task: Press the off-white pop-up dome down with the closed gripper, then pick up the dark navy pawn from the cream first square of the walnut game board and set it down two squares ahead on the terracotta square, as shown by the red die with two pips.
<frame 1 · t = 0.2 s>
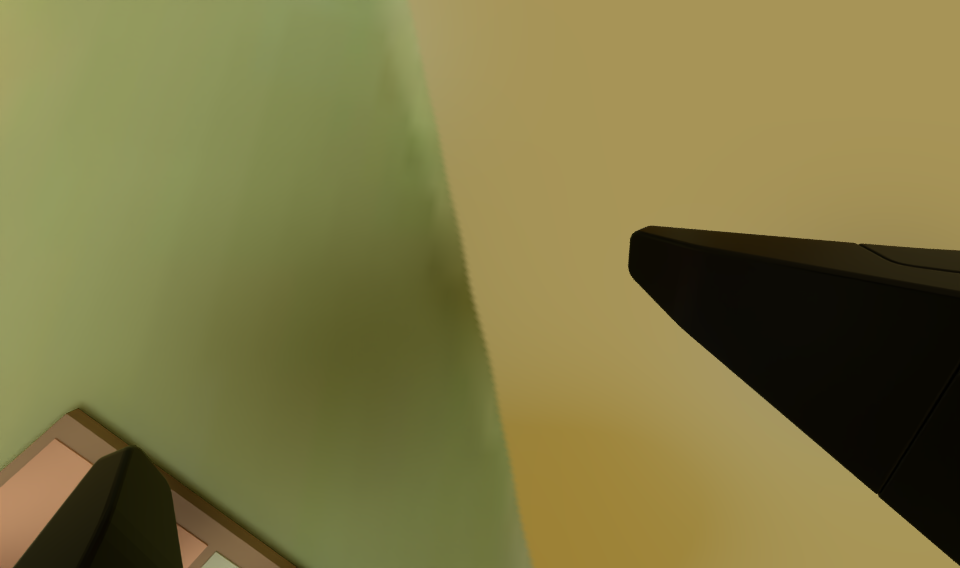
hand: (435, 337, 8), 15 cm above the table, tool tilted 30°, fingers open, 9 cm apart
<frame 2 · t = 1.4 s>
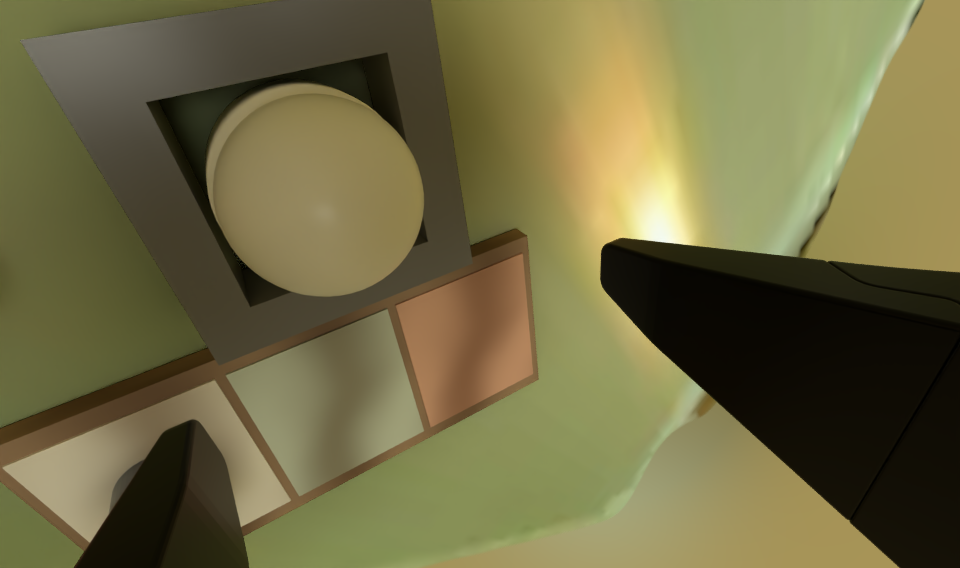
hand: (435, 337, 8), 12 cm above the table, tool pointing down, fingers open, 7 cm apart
dome base: (298, 163, 17), on the table
pawn: (172, 487, 19), point 1 cm above the table, touching game board
dome: (325, 199, 14), point 4 cm above the table, slide at 0.0 cm
game board: (335, 393, 22), on the table
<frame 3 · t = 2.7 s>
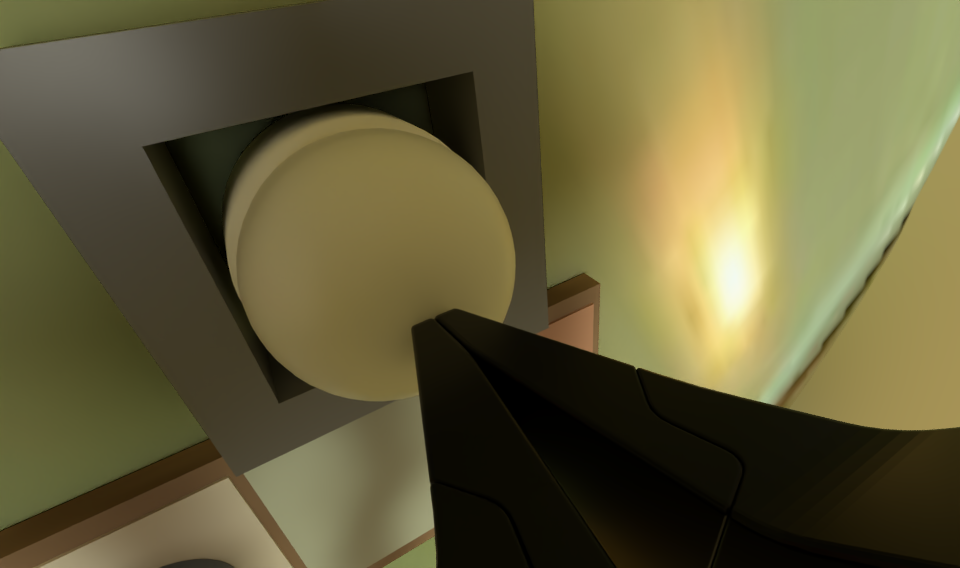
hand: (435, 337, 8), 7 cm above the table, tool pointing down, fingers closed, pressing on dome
dome base: (338, 208, 13), on the table
dome: (384, 266, 10), point 4 cm above the table, slide at 0.4 cm, touching gripper
game board: (369, 471, 19), on the table
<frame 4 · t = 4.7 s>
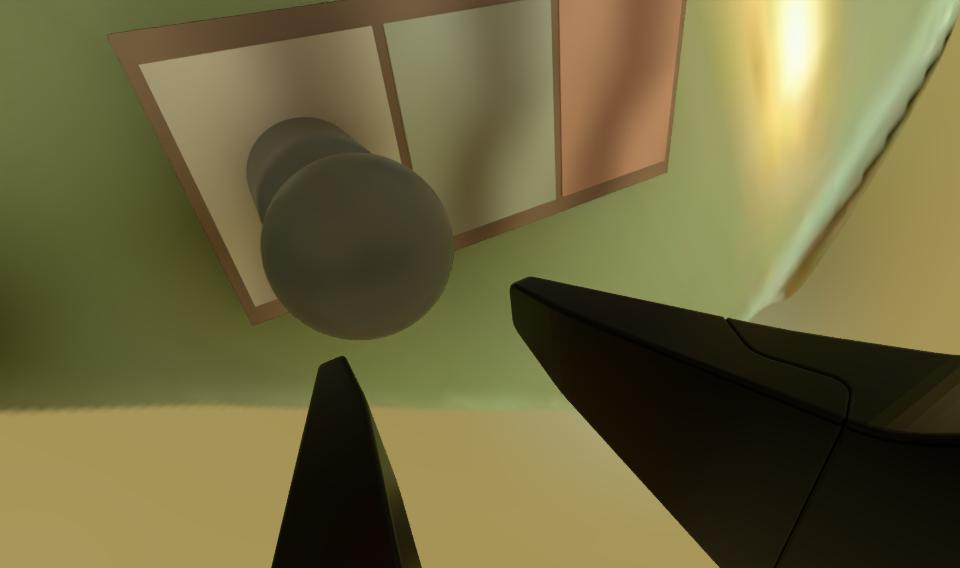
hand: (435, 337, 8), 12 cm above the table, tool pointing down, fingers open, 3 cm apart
pawn: (309, 176, 16), point 1 cm above the table, touching game board
game board: (473, 123, 20), on the table
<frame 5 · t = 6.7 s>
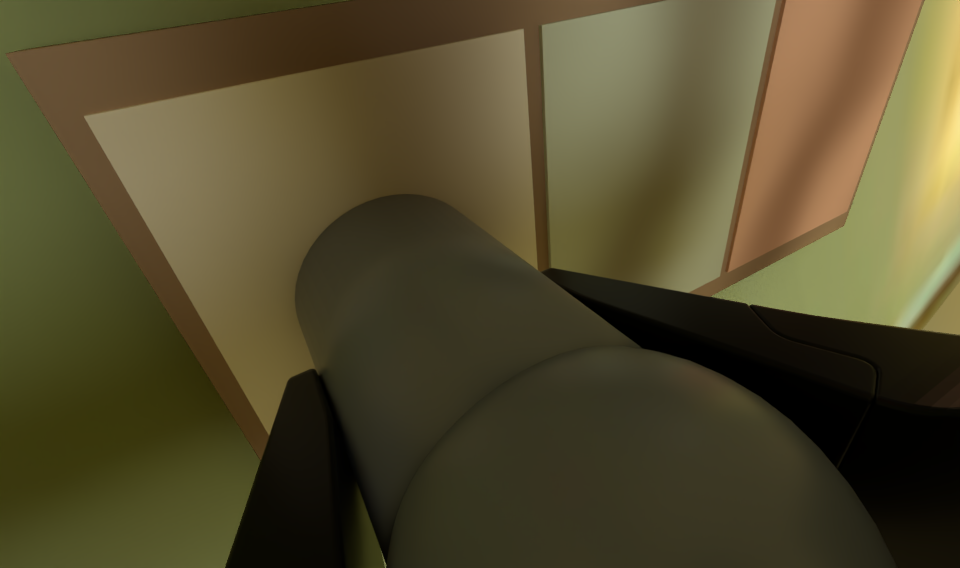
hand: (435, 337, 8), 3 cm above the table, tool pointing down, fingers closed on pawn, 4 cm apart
pawn: (398, 289, 9), point 1 cm above the table, touching gripper
game board: (626, 176, 13), on the table
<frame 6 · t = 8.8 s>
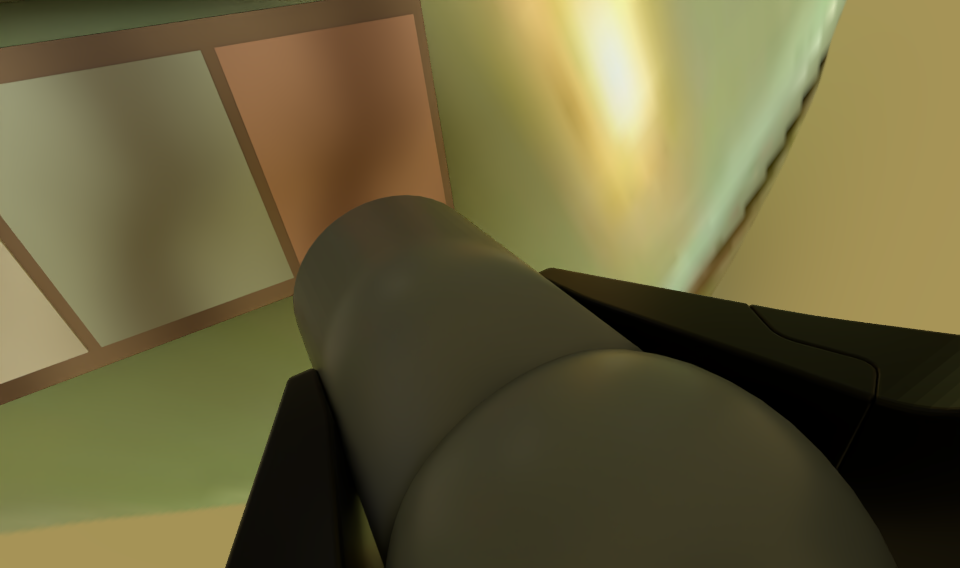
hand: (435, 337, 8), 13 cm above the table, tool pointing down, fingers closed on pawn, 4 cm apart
pawn: (397, 290, 9), point 11 cm above the table, touching gripper
game board: (148, 199, 16), on the table
when the fingers open (4 cm above the table, at t = 10.8 s): pawn drops 1 cm, resting on game board.
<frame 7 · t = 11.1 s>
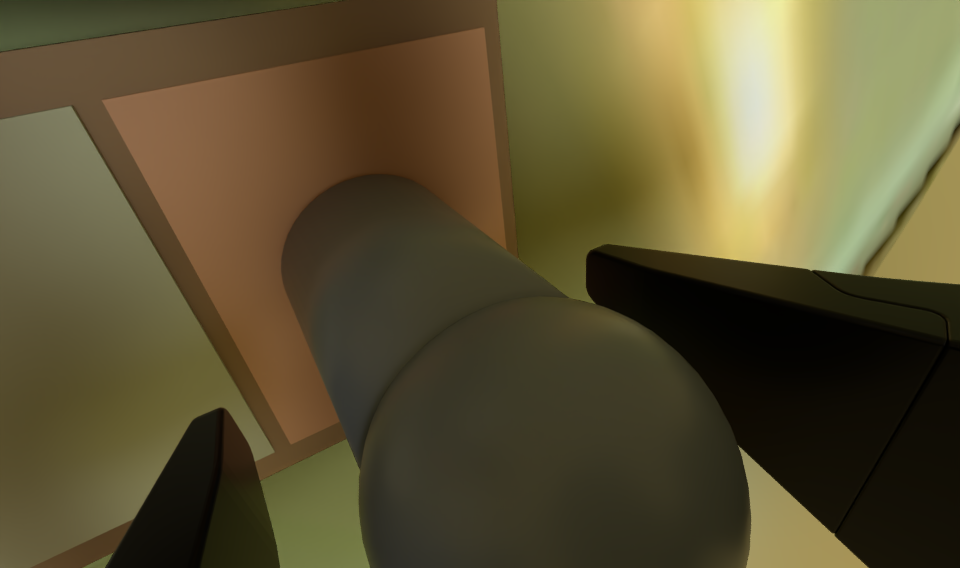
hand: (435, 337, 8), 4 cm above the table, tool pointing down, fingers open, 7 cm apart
pawn: (375, 260, 10), point 1 cm above the table, touching game board
game board: (8, 361, 9), on the table
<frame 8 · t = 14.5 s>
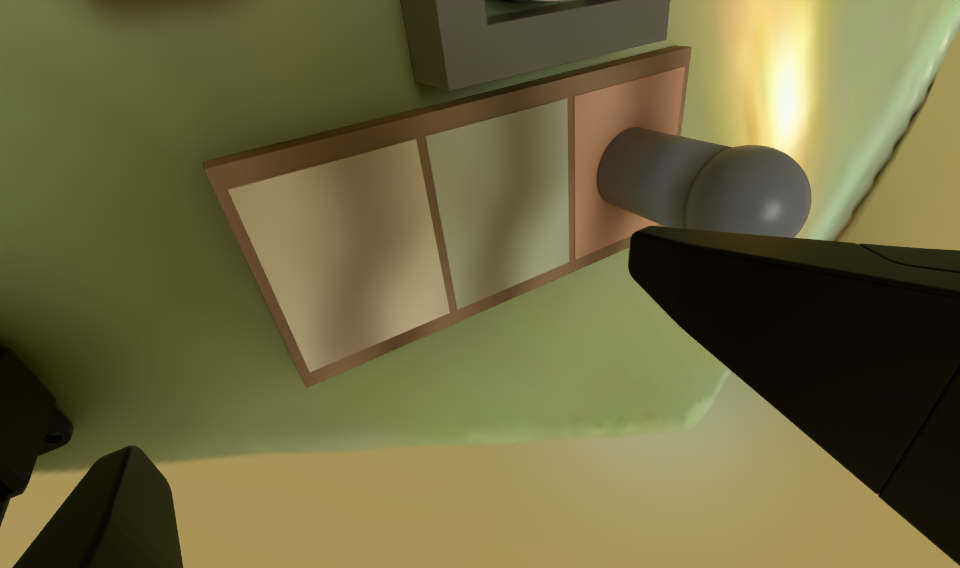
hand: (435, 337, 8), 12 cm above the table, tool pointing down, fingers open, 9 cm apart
pawn: (627, 167, 24), point 1 cm above the table, touching game board
game board: (497, 202, 22), on the table
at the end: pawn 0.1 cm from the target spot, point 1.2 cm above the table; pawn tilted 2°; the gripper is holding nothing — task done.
